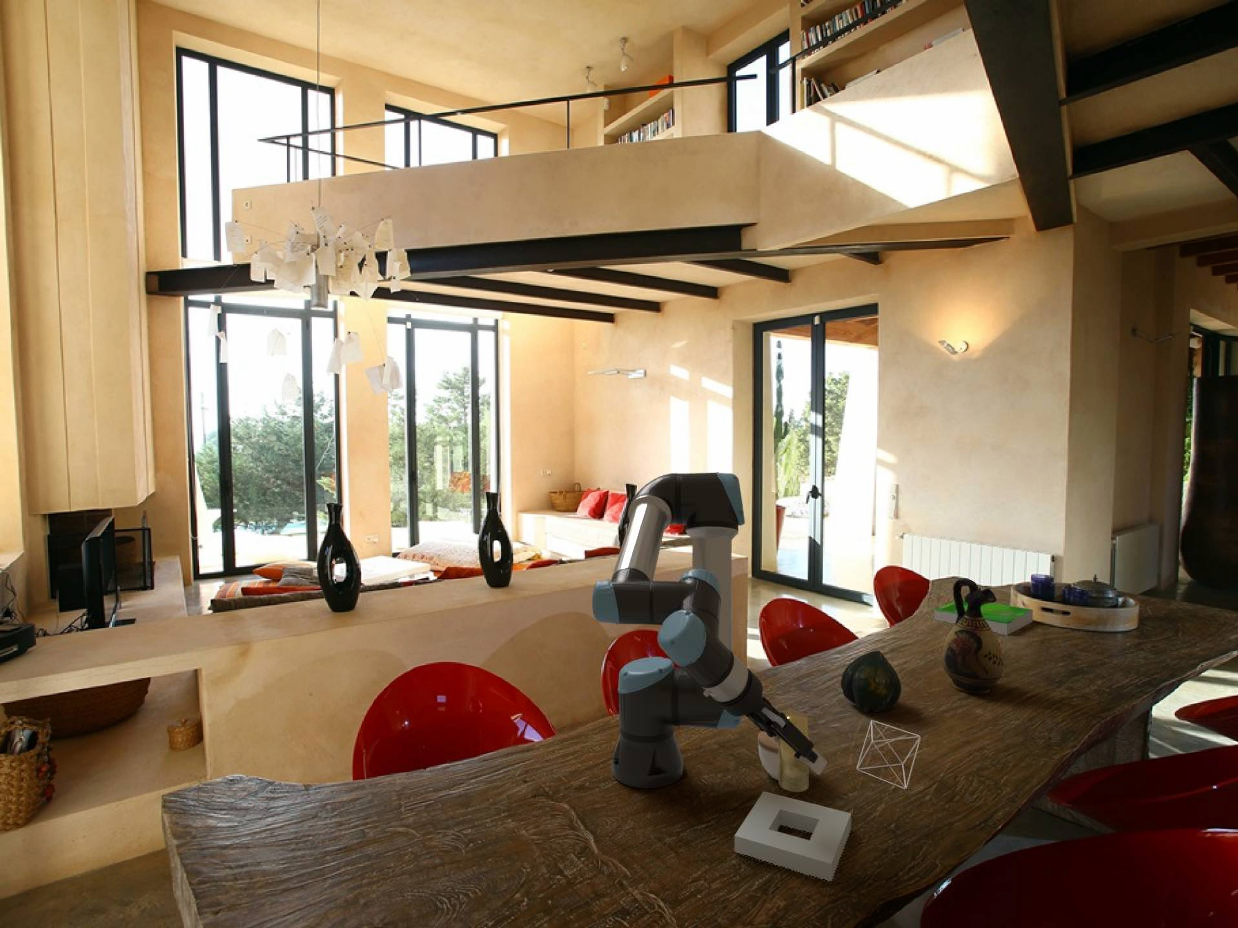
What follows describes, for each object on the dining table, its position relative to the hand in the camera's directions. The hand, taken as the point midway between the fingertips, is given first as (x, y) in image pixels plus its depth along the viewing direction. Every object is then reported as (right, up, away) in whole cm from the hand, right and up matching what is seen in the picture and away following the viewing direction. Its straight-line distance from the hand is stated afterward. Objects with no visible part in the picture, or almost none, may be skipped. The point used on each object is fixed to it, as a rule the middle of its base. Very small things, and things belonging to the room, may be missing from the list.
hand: (810, 760), depth 116 cm
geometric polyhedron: (+22, -13, +22) cm, 34 cm away
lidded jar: (+1, -13, +22) cm, 26 cm away
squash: (+32, -11, +56) cm, 66 cm away
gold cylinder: (-3, -3, -1) cm, 5 cm away
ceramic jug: (+64, -10, +68) cm, 94 cm away
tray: (+103, -8, +132) cm, 168 cm away
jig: (-3, -14, -1) cm, 14 cm away
